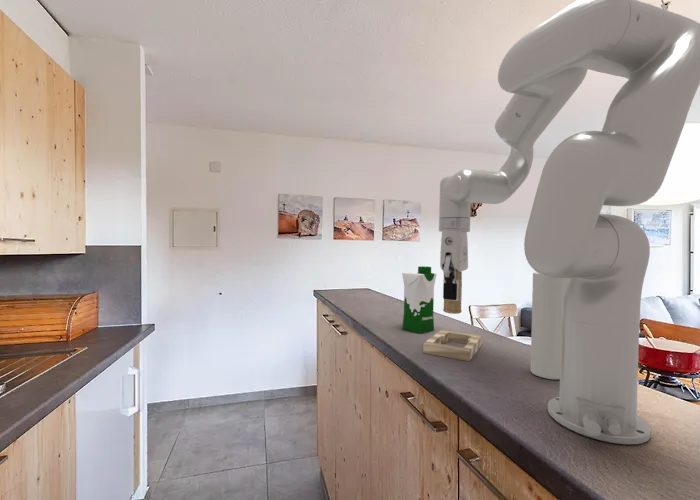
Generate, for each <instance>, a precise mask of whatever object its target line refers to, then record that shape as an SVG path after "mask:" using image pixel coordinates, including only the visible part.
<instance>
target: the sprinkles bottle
mask: <svg viewBox="0 0 700 500" xmlns="http://www.w3.org/2000/svg"><path fill="white" fill-rule="evenodd" d="M444 264H445V262H444ZM450 270H452V271H454V268H450ZM462 272H463V271H461V272H459V271H458V270H457V273H456V284H457V299H456V300H448V299H444V298H443V309H442V311H443V312H444V313H446V314H451V315H452V314H454V315H457V314H458V315H459V314H461V313H462V298H463V297H462V295H463V292H462V291H463V290H462V289H463V284H462V283H463V281H462V280H463V273H462ZM452 275H453V274H452Z"/></svg>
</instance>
